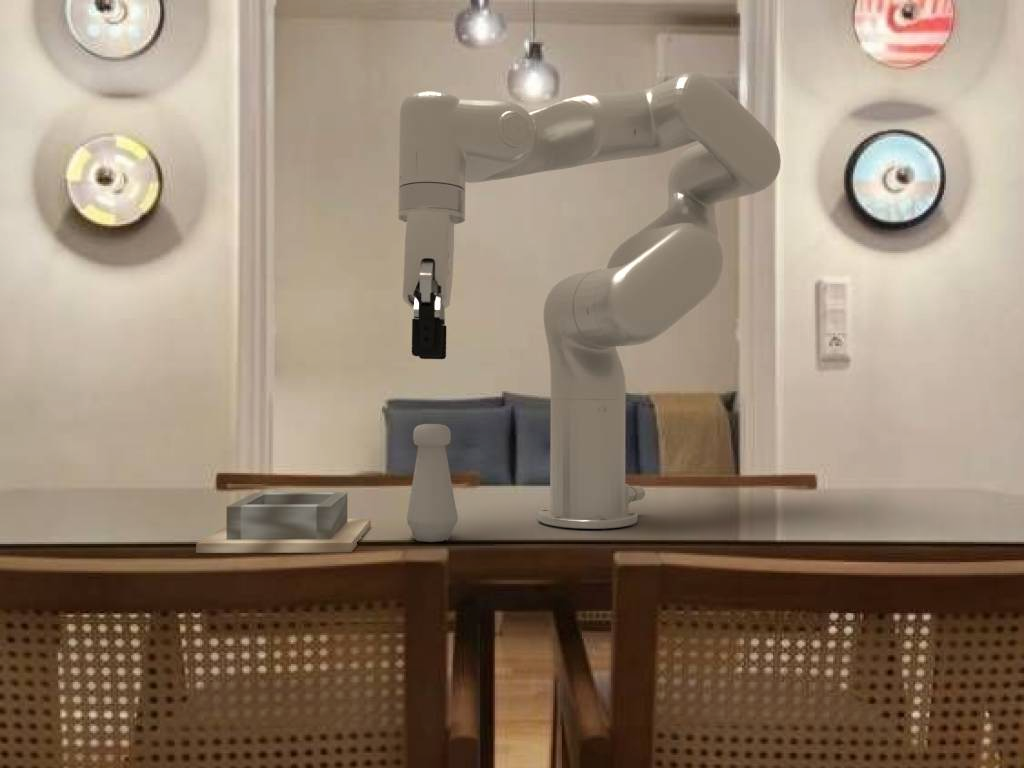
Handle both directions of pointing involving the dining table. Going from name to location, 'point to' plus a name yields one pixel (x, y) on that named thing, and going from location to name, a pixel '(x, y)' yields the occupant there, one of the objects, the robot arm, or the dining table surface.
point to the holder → (287, 525)
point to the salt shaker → (431, 486)
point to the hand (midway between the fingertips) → (429, 357)
